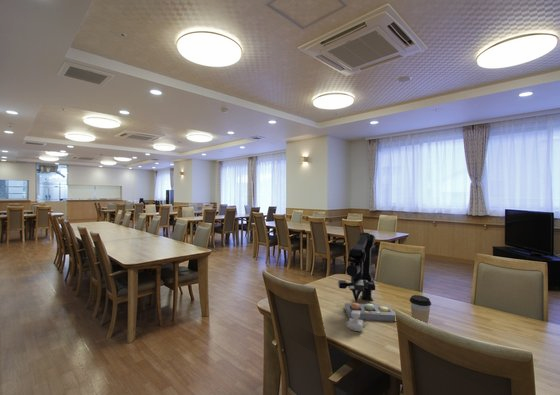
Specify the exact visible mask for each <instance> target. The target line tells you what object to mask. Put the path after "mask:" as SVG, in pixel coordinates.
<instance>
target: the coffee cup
mask: <svg viewBox="0 0 560 395" xmlns="http://www.w3.org/2000/svg"><path fill="white" fill-rule="evenodd" d="M408 301H409V302H410V309H411V311H410V312H411V318H412V317H413V318H415V319H418V320H420V321H423V322H425V323H427V324H428V322H429V318H430V310H431V306H432V302H431V300H430V298H429V297H427V296H424V295H421V294H414V295H411V297H409V300H408Z"/></svg>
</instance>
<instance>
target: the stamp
mask: <svg viewBox="0 0 560 395" xmlns="http://www.w3.org/2000/svg"><path fill="white" fill-rule="evenodd" d="M351 317H353V318H350V319H349V318H348V319H349V320H348V321H346V322H345V325H347V326H346V327H347V328H348V329H349V330H350V331H355V332H361V331H362V330H363V329H365V328H366V324H364V319H358V318H359V317H360V311H356V310H352V313H351Z"/></svg>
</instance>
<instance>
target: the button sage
mask: <svg viewBox="0 0 560 395" xmlns="http://www.w3.org/2000/svg"><path fill="white" fill-rule="evenodd" d="M365 304H366V307H365V309H367V311H373V310H374V305H375V304H372V303H365Z"/></svg>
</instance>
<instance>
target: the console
mask: <svg viewBox="0 0 560 395" xmlns="http://www.w3.org/2000/svg"><path fill="white" fill-rule="evenodd" d="M352 303H353V302H352ZM352 303H351V302H345V303H344V309H345V313H346V315H347V318H348V319H350V318H353V317H351V313H352V310H353V309H352V308H351V304H352ZM359 304H360V309H359V310H356V311H360V317H359V318H358V319H359V320H365V321H366V320H367V321H383V322H385V321H387V322H396V321H395V313H396V312H395V311H394V309H392V307H391V306H390V305H389V304H373V305H374V310H373V311H367V309H365V307H366V304H367V303H359ZM382 306H383V307H387V308H389V312H380V307H382Z"/></svg>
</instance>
